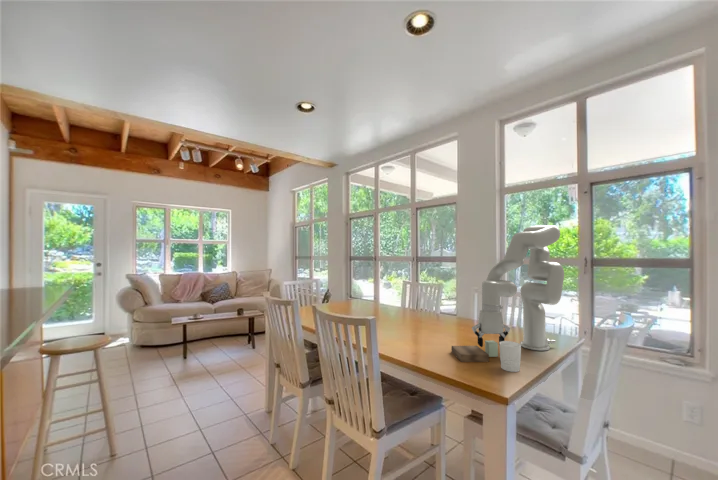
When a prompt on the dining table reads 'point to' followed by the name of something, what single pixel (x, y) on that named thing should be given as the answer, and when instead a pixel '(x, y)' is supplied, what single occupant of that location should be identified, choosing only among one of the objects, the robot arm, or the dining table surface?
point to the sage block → (491, 348)
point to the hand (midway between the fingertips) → (491, 345)
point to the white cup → (510, 355)
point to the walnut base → (470, 354)
